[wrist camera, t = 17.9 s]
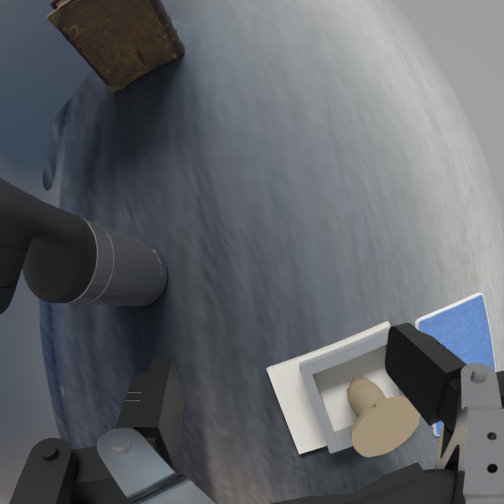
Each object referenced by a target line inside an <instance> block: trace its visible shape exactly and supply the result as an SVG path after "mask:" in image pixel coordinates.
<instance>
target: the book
mask: <svg viewBox="0 0 504 504" xmlns="http://www.w3.org/2000/svg"><path fill="white" fill-rule="evenodd" d="M50 5H51V6H52V8H53V9H54V11H53V12H52V13H50V14H49V15H48V16H47V18H48V20H49V21H50V22H51V23H52V24H53V25H54V26H55V28H57V29H58V30H59V31H60V32H61V33H62V34H63V36H64V37H65V38H66V39H67V40H68V41H69V42H70V43H71V44H72V46H73V47H74V48H75V49H76V50H77V51H78V53H79V54H80V55H81V56H82V57H83V58H84V59H85V60H86V62H87V63H88V64H89V65H90V66H91V68H92V69H93V70H94V71H95V72H96V73H97V75H98V76H99V77H100V78H101V79H102V80H103V81H104V83H105V84H106V85H107V87H108V88H109V89H110V90H111V91H112V92H113V93H116V92H118V91H120V90H121V89H123V88H125V87H126V86H128V85H129V84H131V83H132V82H134V81H136V80H137V79H139V78H141V77H142V76H144V75H146V74H147V73H149V72H151V71H153V70H155V69H157V68H159V67H161V66H163V65H166V64H168V63H171V62H173V61H175V60H176V59H178V58H180V56H181V55H182V54H183V53H184V45H183V43H182V42H181V41H180V39H179V37H178V35H177V31H176V29H175V28H174V27H173V25H172V23H171V20H170V17H169V16H168V15H167V13H166V11H165V9H164V6H163V3H162V2H161V1H160V0H53V1H52V2H51V3H50Z"/></svg>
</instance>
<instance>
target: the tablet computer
mask: <svg viewBox="0 0 504 504" xmlns="http://www.w3.org/2000/svg"><path fill="white" fill-rule="evenodd" d="M415 328H417V329H418V330H419V331H420V332H423V333H426V334H428V335H431V336H433V337H434V338H435V339H436V340H438V341H439V342H440V344H443V345H444V346H445V347H446V349H449V350H450V351H451V352H452V353H454V354H455V355H456V356H457V357H459V358H460V359H461V360H462V361H463V362H465V363H466V364H467V365H468V364H471V363H481V364H485V365H487V366H489V367H491V368H492V369H493V370H494V371H495V372H496V364H495V356H494V348H493V341H492V335H491V329H490V323H489V318H488V313H487V308H486V303H485V299H484V296H483V294H481V293H476V294H474V295H472V296H469V297H467V298H465V299H463V300H461V301H458V302H456V303H454V304H451V305H449V306H447V307H444V308H442V309H440V310H437V311H435V312H432V313H430V314H428V315H425V316H423V317H420V318H418V319H417V320H416V321H415ZM442 425H443V422H442V421H440V422H437V423H435V424H433V425H432V428H433V434H434V436H437V437H439V436H440V433H441V428H442Z"/></svg>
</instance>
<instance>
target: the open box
mask: <svg viewBox="0 0 504 504" xmlns="http://www.w3.org/2000/svg"><path fill="white" fill-rule="evenodd" d="M390 328H391V327H390V325H389V322H387V321H386V322H383V323H381V324H379V325H377V326H374V327H372V328H370V329H367V330H365V331H363V332H360V333H358V334H356V335H353V336H351V337H348V338H346V339H343V340H341V341H339V342H336V343H333V344H331V345H328V346H326V347H323V348H321V349H318V350H315V351H313V352H310V353H307V354H304V355H302V356H299V357H296V358H293V359H291V360H288V361H285V362H282V363H279V364H276V365H273V366H270V367H267V372H268V374H269V377H270V380H271V382H272V385H273V388H274V390H275V393H276V396H277V398H278V401H279V403H280V406H281V409H282V411H283V414H284V416H285V419H286V422H287V424H288V427H289V429H290V432H291V435H292V437H293V440H294V442H295V445H296V447H297V450H298V452H299V454H302V453H305V452H308V451H312V450H315V449H318V448H321V447H324V446H327V447H328V449H329V452H330V454H331V453H334V452H337V451H340V450H343V449H346V448H349V447H351V446H353V444H352V441H351V438H350V429H351V427H352V426H353V424H354V423H355V421H356V420H357V419H358V417H357V416H356V414H355V413H354V412H353V410H352V408H351V407H350V404H349V401H348V394H347V388H348V387H349V386H350V384H351V380H352V379H354V378H356V379H361V378H367V379H368V380H370V381H372V382H373V383H375V384H376V385H377V386H378V387H379V388H380V389H381V390H382V392H383V393H384V395H385V397H386V398H390V397H394V396H400V395H401V396H404V397H406V396H405V395H404V394H403V393H402V391H401V390H400V389H399V388H398V387H397V385H396V384H395V383H394V382H393V381H392V379H391V378H390V377H389V376H388V374H387V372H386V369H385V355H386V348H387V340H388V332H389V329H390ZM419 415H420V414H419ZM420 416H421V415H420Z"/></svg>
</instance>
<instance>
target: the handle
mask: <svg viewBox="0 0 504 504" xmlns="http://www.w3.org/2000/svg"><path fill="white" fill-rule="evenodd" d="M347 394H348V401H349V404H350V407H351V408H352V410H353V412H354V413H355V414H356V416H357V417H358V419H357V420H356V421H355V423H354V424H353V426H352V427H351V429H350V438H351V441H352V444H353V446H354V448H355V449H356V451H357V452H358V453H359V454H361V455H363V456H365V457H373V456H378V455H382V454H385V453H388V452H390V451H392V450H393V449H395V448H396V447H398V446H399V445H401V444H402V443H404V442H405V441H406V440H407V439H408V438H409V437H410V436H411V434H412V433H413V432H414V430H415V429H416V427H417V426H418V424H419V421H420V415H419V412H418V411H417V410H416V409H415V407H414V406H413V405H412V404H411V402H410V401H409V400H408V399H407V398H406V397H404V396H401V395H400V396H394V397H390V398H386V397H385V395H384V393H383V392H382V390H381V389H380V388H379V387H378V386H377V385H376V384H375V383H373V382H372V381H370V380H368V379H367V378H361V379H356V378H354V379H352V380H351V384H350V386H349V387H348V388H347Z"/></svg>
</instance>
